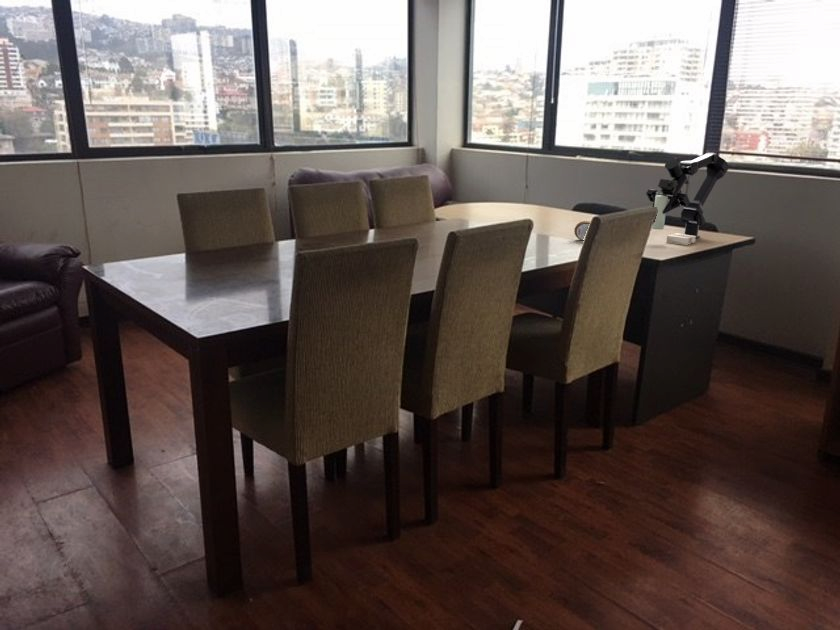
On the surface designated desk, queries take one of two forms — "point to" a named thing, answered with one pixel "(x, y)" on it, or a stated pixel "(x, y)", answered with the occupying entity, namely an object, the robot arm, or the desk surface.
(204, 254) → the desk surface
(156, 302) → the desk surface
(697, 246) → the desk surface
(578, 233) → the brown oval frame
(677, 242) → the plinth
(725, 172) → the robot arm
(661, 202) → the post
